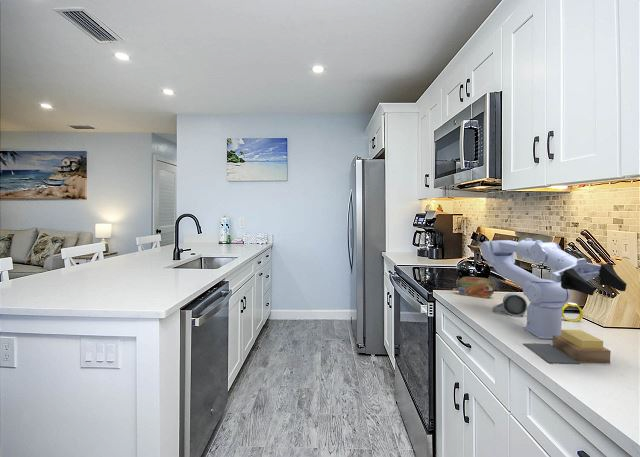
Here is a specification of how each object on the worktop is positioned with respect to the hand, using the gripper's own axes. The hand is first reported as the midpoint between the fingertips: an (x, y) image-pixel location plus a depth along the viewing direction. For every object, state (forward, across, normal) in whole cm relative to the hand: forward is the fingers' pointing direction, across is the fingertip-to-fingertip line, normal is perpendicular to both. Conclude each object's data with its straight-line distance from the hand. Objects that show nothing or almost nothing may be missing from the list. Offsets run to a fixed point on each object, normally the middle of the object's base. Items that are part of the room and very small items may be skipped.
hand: (608, 289), depth 81 cm
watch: (-26, +14, +29) cm, 41 cm away
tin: (-59, -2, +37) cm, 70 cm away
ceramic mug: (-35, -1, +30) cm, 46 cm away
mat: (-2, -11, +18) cm, 21 cm away
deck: (-1, -4, +19) cm, 19 cm away
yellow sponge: (-2, -3, +15) cm, 16 cm away
